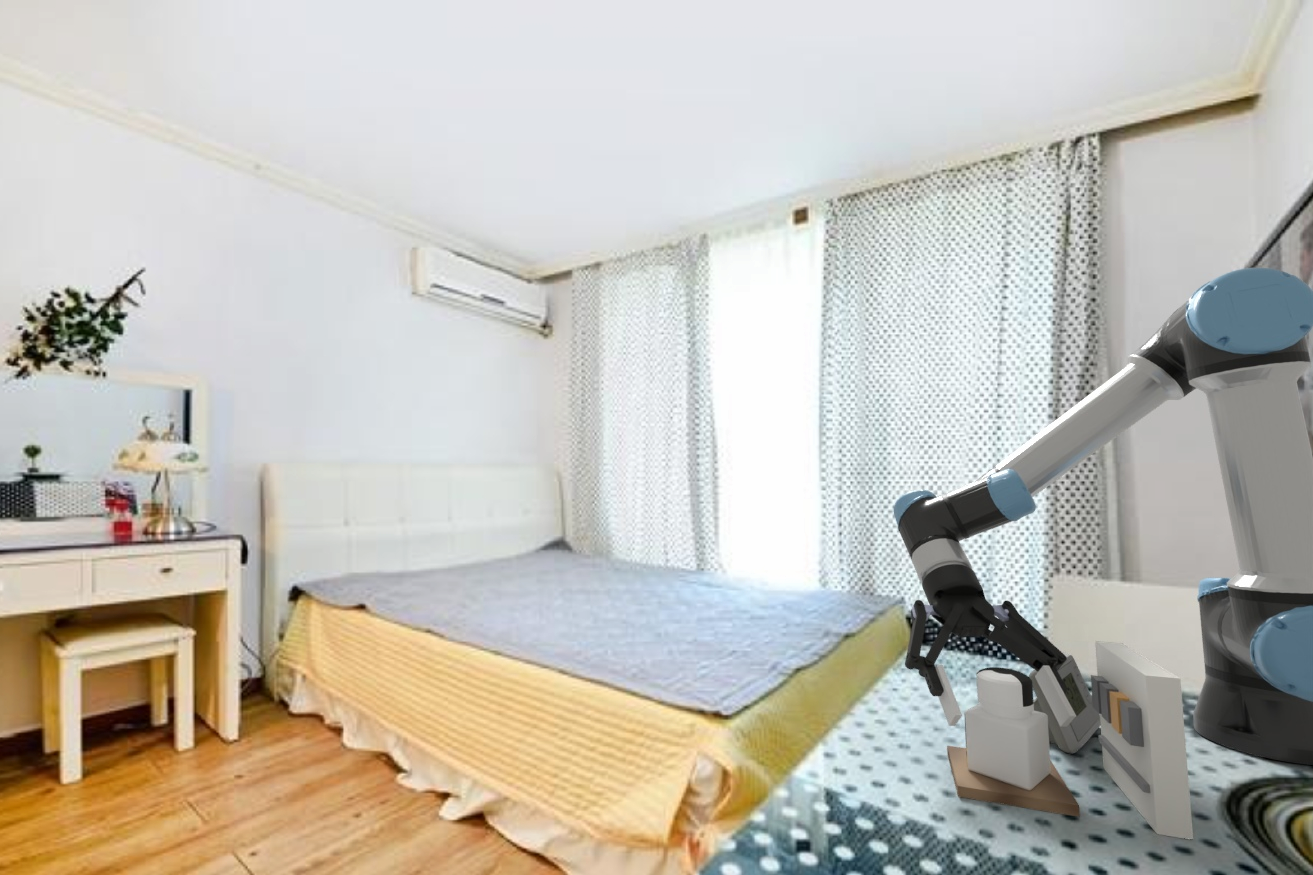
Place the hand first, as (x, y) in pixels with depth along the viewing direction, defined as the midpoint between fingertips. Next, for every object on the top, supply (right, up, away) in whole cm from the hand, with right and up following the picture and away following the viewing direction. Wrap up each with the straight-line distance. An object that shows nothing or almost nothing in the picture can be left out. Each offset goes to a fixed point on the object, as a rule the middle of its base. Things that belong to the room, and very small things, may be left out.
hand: (1012, 721), depth 71 cm
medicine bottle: (0, -7, +1) cm, 7 cm away
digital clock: (+17, -10, +15) cm, 25 cm away
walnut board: (0, -8, +1) cm, 8 cm away
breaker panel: (+13, -8, -3) cm, 16 cm away
